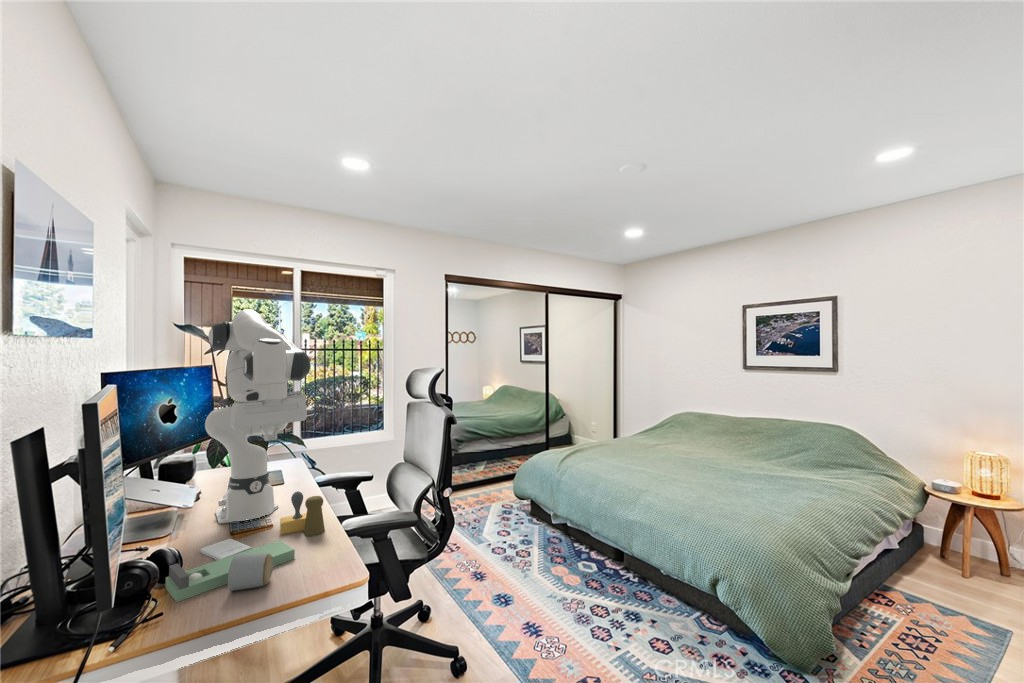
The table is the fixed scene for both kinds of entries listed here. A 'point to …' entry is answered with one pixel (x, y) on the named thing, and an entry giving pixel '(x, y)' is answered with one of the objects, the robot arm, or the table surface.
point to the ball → (195, 576)
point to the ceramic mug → (249, 571)
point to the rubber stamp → (294, 517)
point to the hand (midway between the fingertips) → (270, 440)
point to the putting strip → (218, 571)
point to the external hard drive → (224, 549)
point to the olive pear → (314, 516)
